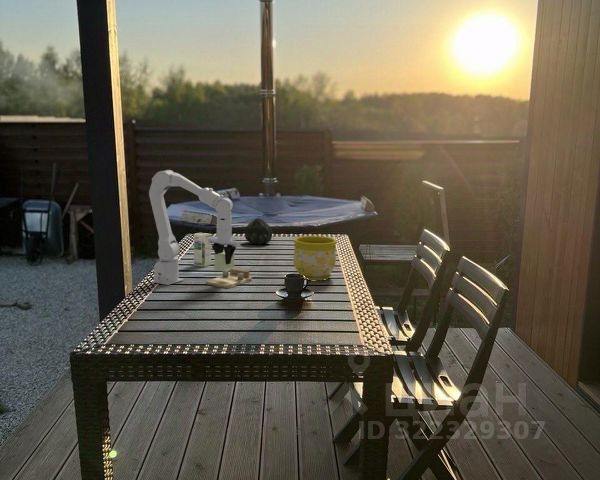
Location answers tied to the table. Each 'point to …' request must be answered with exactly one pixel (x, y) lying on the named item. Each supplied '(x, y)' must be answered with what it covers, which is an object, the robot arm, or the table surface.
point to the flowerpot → (314, 256)
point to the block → (223, 262)
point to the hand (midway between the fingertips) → (224, 263)
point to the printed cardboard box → (202, 249)
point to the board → (230, 278)
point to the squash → (258, 232)
